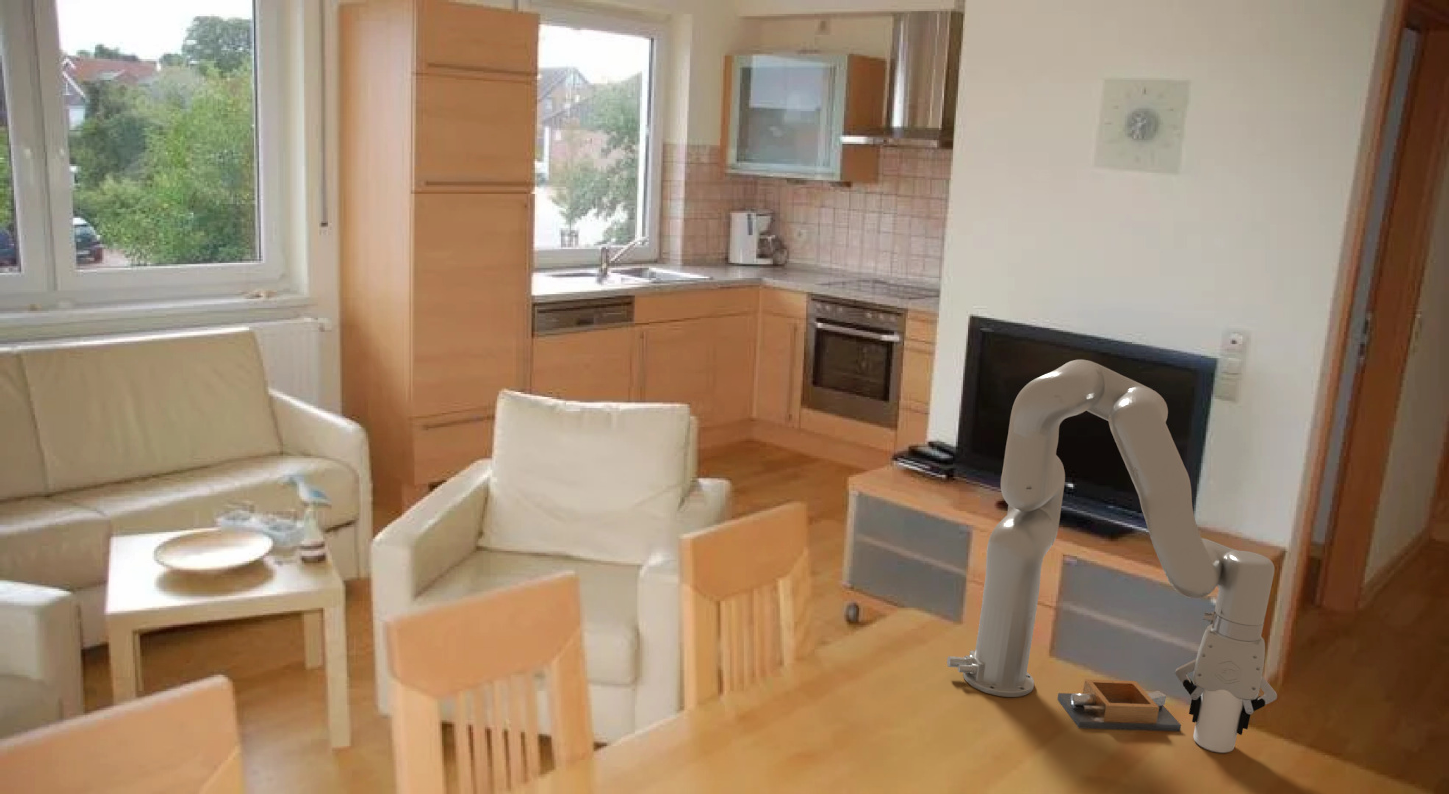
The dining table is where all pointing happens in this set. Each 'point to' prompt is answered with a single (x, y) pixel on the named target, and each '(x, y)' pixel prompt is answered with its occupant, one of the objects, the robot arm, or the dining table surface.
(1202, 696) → the can
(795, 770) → the dining table surface
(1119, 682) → the base
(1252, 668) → the robot arm
